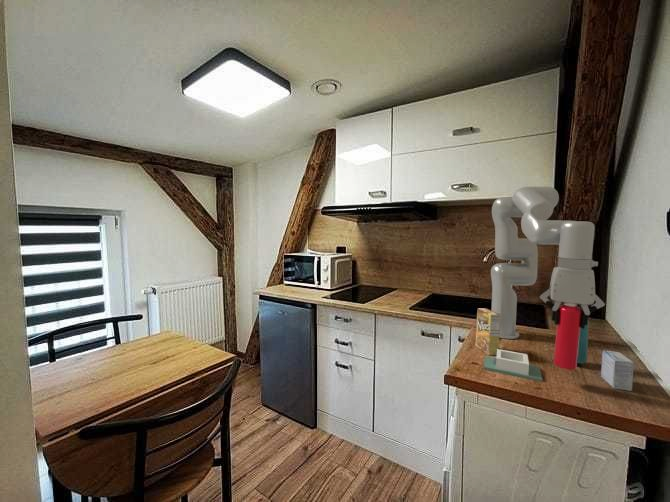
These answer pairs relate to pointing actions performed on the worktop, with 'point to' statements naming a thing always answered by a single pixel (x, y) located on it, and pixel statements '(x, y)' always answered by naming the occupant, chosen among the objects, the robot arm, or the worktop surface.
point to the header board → (512, 365)
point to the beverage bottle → (583, 343)
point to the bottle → (567, 336)
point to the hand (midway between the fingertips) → (568, 324)
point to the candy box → (487, 331)
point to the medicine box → (617, 370)
